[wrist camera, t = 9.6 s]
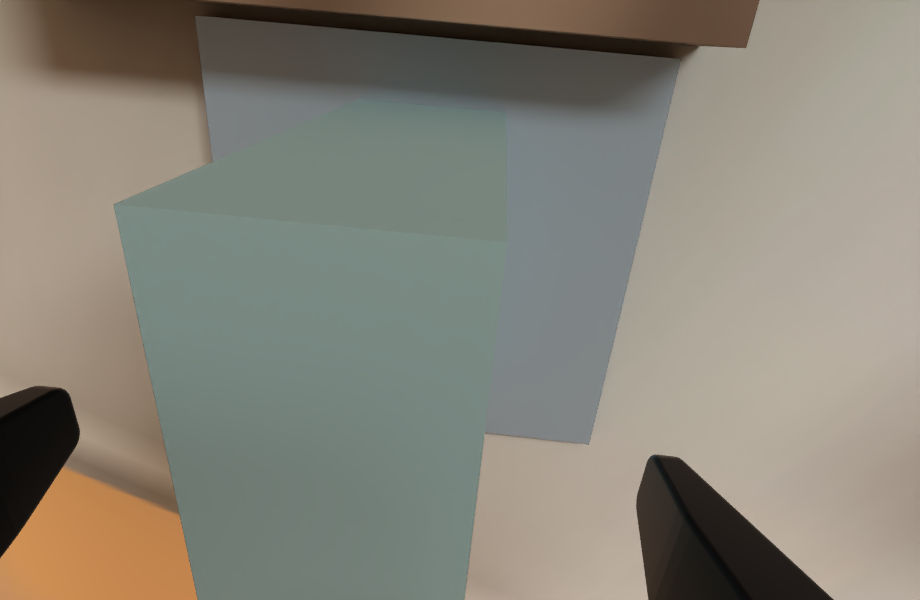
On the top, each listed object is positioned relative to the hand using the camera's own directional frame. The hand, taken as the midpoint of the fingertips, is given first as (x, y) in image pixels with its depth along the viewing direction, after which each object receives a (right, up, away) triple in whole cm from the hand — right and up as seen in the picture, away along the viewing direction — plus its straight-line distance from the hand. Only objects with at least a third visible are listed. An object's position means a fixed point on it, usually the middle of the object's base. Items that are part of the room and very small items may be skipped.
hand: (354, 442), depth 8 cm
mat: (+1, +3, +7) cm, 7 cm away
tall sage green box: (+1, +3, +6) cm, 7 cm away
